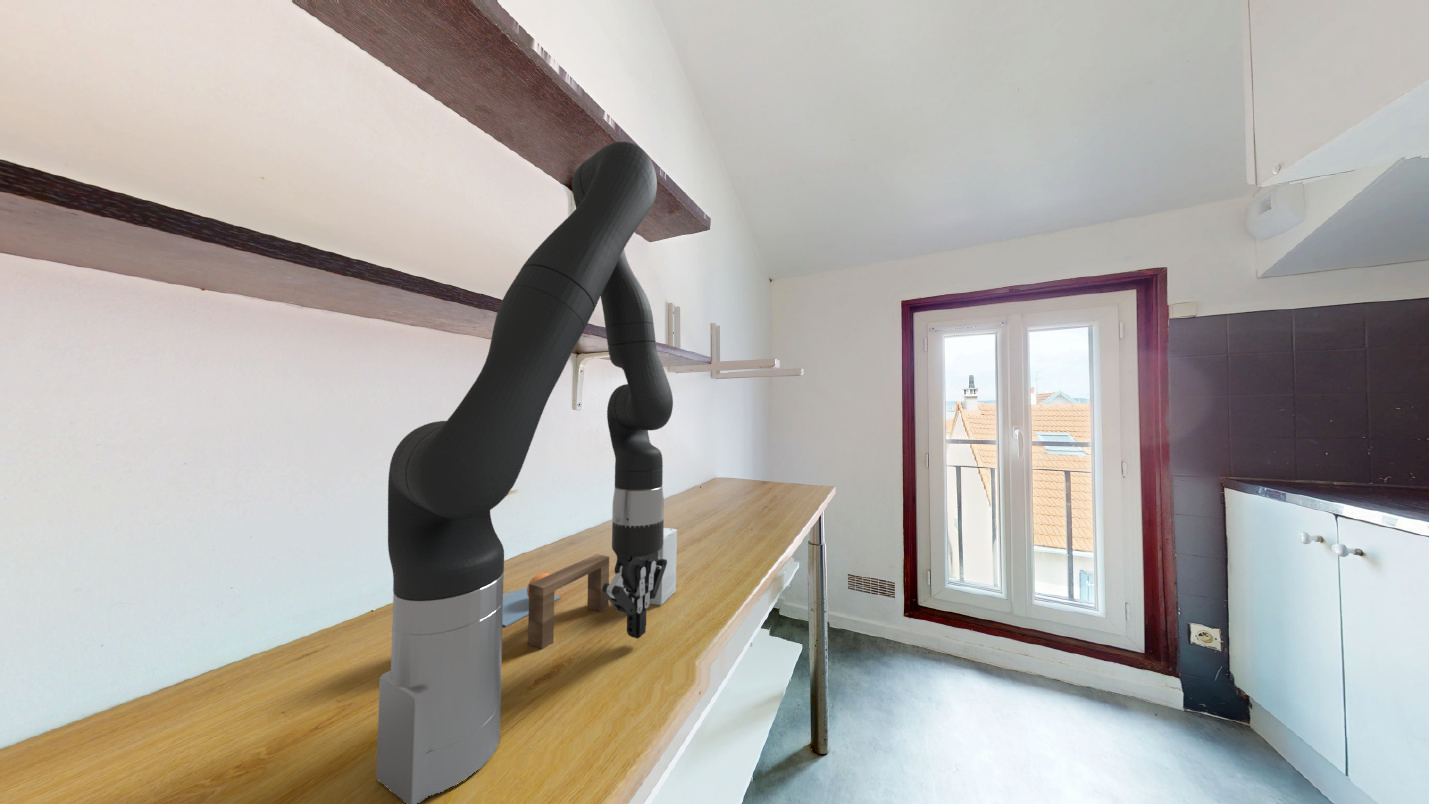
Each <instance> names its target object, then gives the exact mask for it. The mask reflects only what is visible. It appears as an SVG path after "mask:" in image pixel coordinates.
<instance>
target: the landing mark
mask: <svg viewBox="0 0 1429 804" xmlns="http://www.w3.org/2000/svg"><path fill="white" fill-rule="evenodd" d="M527 587H528V586H526V588H525V589H524V588H523V590H522V589H520V590H517V591H516V590H515V591H514V592H513V591H510V592H509V591H508V592H507V593H506V592H505V591H503V594H513V595H507V596H503V617H502V627H508V626H510V625H512V624H514V623H516V622H518V621H520V620H522V619H524V618H526V617H527V616H529V597H528V595H527ZM561 598H562V597H561V596H559V595H556V594H555V595H554V602H556V601H557V600H560V599H561Z"/></svg>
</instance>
